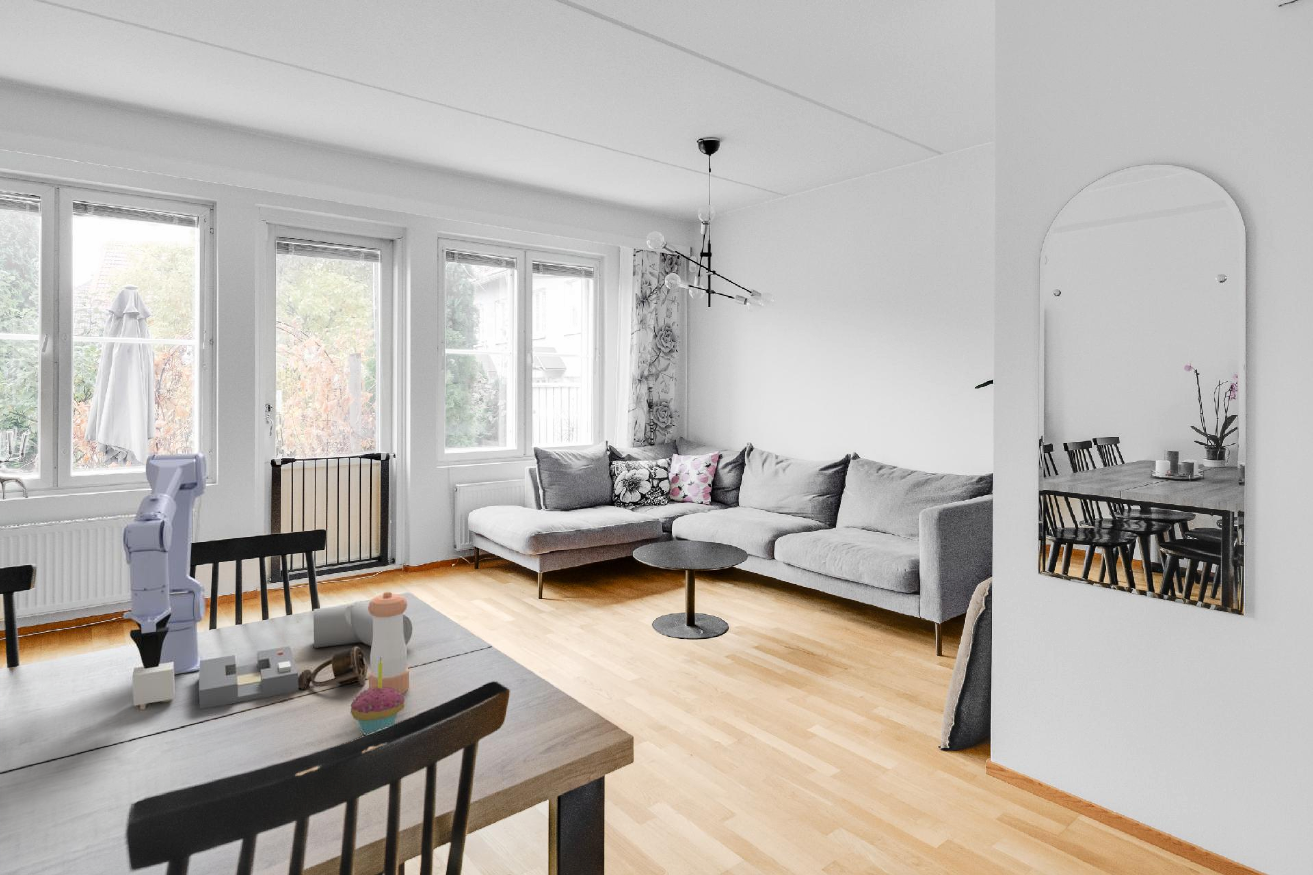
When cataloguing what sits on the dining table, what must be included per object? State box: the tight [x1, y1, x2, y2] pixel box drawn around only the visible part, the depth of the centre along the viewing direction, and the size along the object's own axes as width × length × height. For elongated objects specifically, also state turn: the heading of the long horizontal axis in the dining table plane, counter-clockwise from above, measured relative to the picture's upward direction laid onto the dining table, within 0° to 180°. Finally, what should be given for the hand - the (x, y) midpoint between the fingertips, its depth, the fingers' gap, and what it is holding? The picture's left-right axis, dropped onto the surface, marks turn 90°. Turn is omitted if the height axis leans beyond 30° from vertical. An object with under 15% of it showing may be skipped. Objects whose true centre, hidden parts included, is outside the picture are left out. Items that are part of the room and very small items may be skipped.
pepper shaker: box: [368, 590, 410, 694], centre depth 140 cm, size 7×7×19 cm
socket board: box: [198, 645, 299, 710], centre depth 143 cm, size 16×16×4 cm
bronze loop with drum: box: [298, 646, 369, 690], centre depth 144 cm, size 7×13×10 cm
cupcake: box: [350, 657, 405, 736], centre depth 125 cm, size 9×8×12 cm
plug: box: [131, 662, 176, 710], centre depth 134 cm, size 4×6×6 cm, turn 121°
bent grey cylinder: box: [313, 600, 413, 649], centre depth 164 cm, size 18×10×20 cm
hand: (153, 659), depth 133 cm, fingers open, 7 cm apart
